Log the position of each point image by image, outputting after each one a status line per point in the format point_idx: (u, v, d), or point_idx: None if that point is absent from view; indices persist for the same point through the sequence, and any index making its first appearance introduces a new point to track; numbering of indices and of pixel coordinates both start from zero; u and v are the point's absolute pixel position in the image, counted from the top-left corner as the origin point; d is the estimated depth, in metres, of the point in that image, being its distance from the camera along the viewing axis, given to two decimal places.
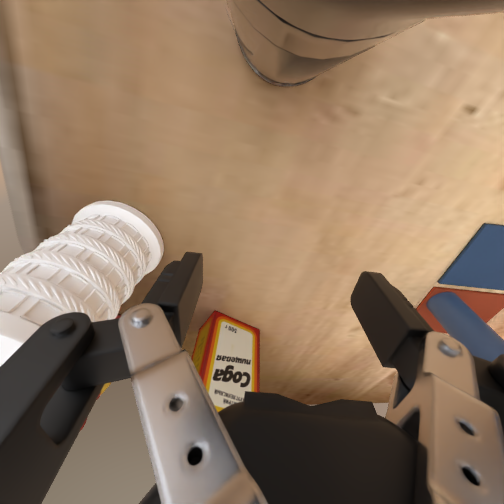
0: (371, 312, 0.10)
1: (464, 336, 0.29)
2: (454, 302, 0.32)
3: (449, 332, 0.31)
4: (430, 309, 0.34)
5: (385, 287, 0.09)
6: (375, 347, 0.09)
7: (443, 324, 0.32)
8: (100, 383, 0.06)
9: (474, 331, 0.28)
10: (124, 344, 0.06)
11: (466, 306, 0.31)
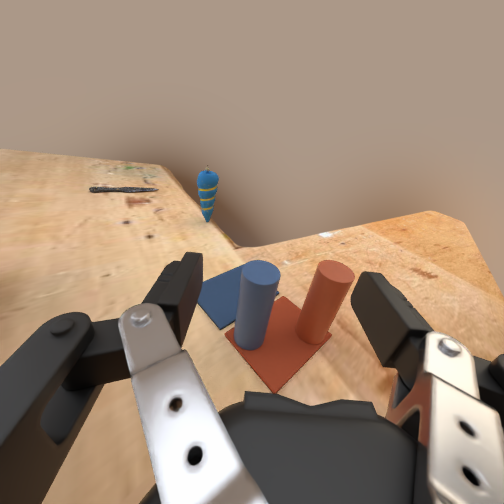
0: (371, 312, 0.10)
1: (239, 307, 0.26)
2: None
3: (247, 324, 0.26)
4: (243, 344, 0.29)
5: (384, 287, 0.09)
6: (375, 348, 0.09)
7: (245, 330, 0.27)
8: (100, 383, 0.06)
9: None
10: (124, 344, 0.06)
11: None
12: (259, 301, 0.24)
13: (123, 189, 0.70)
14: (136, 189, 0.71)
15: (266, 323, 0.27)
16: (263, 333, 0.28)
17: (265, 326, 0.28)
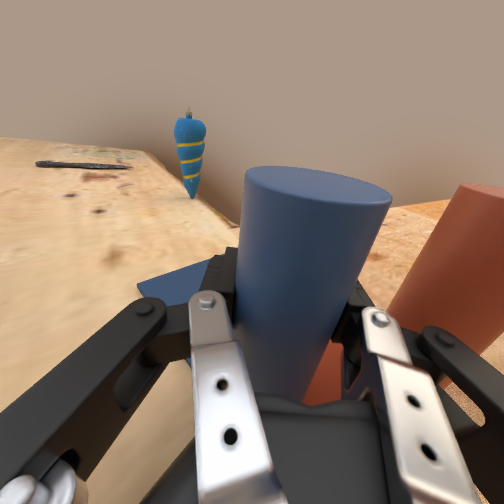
0: None
1: (239, 315, 0.08)
2: None
3: (264, 369, 0.08)
4: None
5: None
6: None
7: (256, 385, 0.09)
8: (169, 361, 0.07)
9: None
10: (190, 320, 0.06)
11: None
12: (315, 289, 0.06)
13: (84, 165, 0.53)
14: (102, 165, 0.54)
15: (319, 362, 0.09)
16: (306, 389, 0.10)
17: (315, 371, 0.09)
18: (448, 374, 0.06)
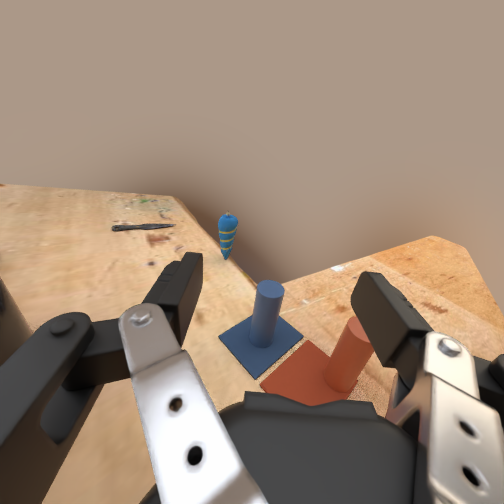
0: (371, 312, 0.10)
1: (255, 314, 0.36)
2: None
3: (261, 327, 0.36)
4: (257, 343, 0.38)
5: (384, 287, 0.09)
6: (375, 347, 0.09)
7: (259, 331, 0.37)
8: (99, 383, 0.06)
9: None
10: (124, 344, 0.06)
11: None
12: (270, 310, 0.34)
13: (143, 226, 0.74)
14: (155, 226, 0.75)
15: (274, 326, 0.37)
16: (272, 334, 0.38)
17: (274, 329, 0.37)
18: None
